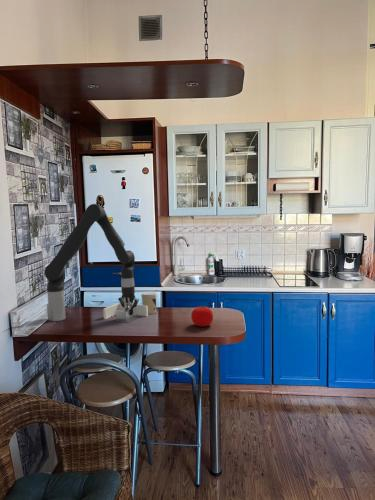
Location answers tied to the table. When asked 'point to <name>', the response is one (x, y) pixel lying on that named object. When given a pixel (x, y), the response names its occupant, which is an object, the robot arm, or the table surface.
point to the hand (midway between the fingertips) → (129, 314)
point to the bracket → (125, 314)
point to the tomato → (202, 316)
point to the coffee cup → (149, 301)
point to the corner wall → (111, 310)
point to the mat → (127, 320)
